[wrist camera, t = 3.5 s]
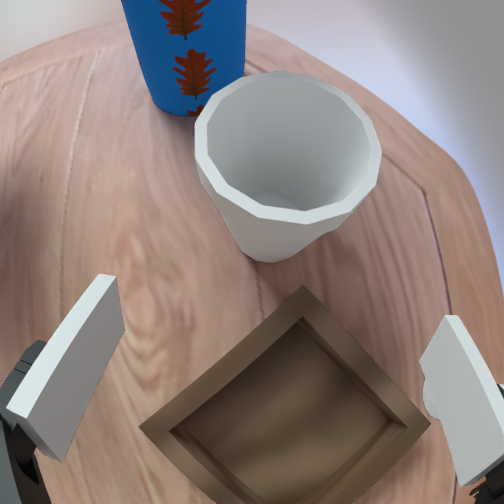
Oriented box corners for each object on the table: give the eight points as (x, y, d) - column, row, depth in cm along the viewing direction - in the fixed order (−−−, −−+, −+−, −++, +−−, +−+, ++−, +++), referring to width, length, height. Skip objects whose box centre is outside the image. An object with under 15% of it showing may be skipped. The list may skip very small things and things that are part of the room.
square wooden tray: (154, 413, 23) (138, 426, 18) (292, 294, 26) (303, 284, 21) (278, 525, 20) (284, 552, 16) (404, 414, 23) (431, 423, 19)
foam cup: (231, 295, 26) (223, 250, 13) (200, 195, 28) (175, 92, 15) (339, 260, 27) (412, 193, 14) (300, 168, 29) (333, 64, 16)
